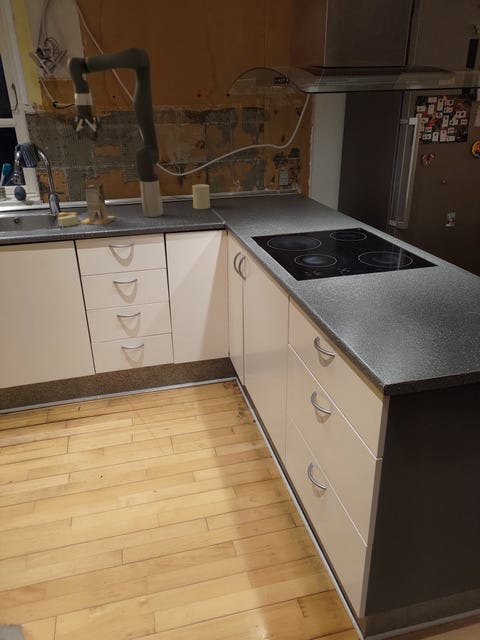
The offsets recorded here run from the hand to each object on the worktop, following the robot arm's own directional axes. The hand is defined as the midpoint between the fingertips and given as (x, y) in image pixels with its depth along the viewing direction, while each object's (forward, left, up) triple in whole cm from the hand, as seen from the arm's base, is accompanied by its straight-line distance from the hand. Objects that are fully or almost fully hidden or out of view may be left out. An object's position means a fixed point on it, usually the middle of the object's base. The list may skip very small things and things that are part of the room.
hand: (88, 139), depth 243 cm
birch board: (-10, +20, -36) cm, 42 cm away
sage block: (+1, +29, -36) cm, 46 cm away
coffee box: (-10, +20, -35) cm, 42 cm away
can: (-52, -18, -36) cm, 66 cm away
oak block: (+5, +22, -36) cm, 43 cm away
